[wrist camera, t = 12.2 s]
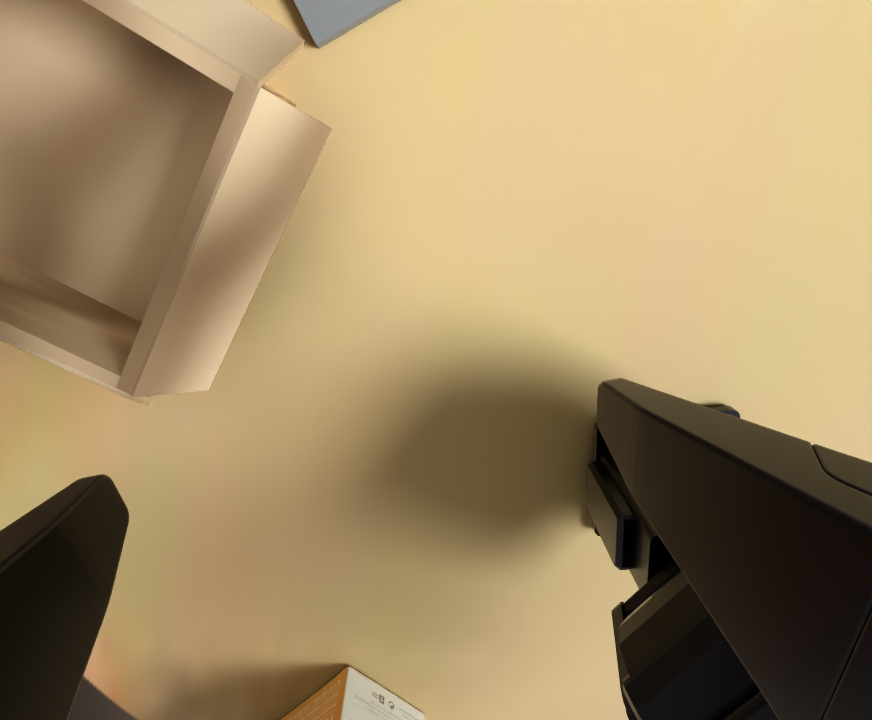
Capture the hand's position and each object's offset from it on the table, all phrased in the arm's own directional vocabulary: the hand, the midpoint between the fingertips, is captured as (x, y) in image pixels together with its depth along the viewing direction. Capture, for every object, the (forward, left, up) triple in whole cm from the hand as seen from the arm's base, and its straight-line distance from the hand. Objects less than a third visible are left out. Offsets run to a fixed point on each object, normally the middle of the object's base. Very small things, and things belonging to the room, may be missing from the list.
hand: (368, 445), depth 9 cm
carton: (+11, -6, -12) cm, 17 cm away
